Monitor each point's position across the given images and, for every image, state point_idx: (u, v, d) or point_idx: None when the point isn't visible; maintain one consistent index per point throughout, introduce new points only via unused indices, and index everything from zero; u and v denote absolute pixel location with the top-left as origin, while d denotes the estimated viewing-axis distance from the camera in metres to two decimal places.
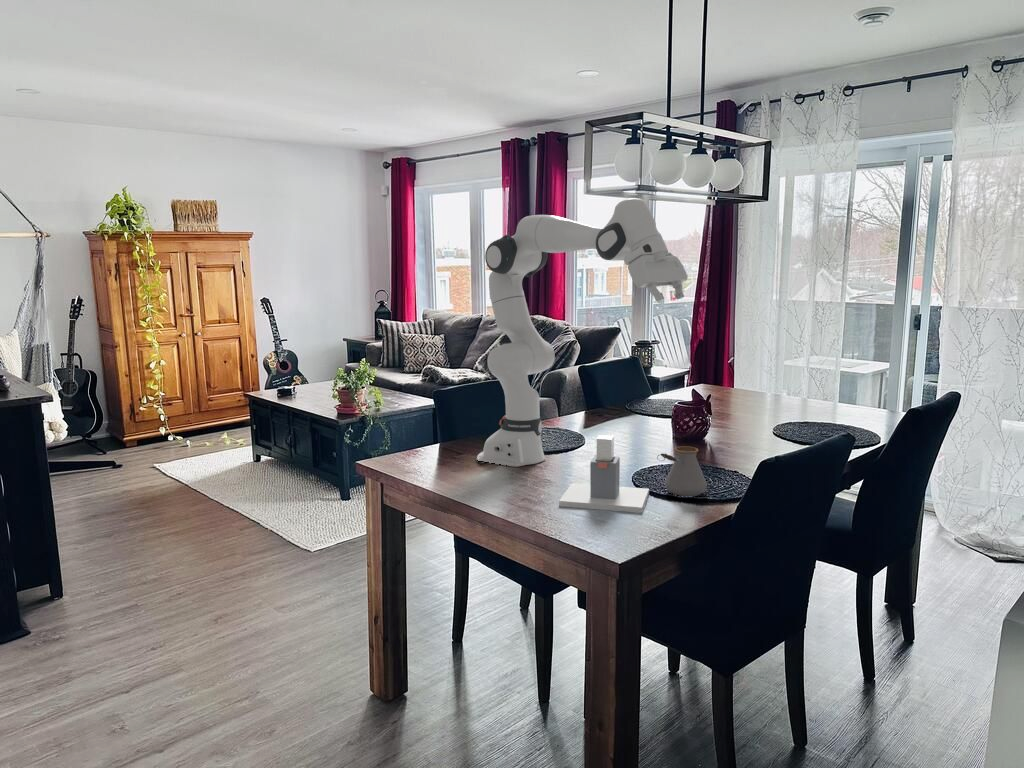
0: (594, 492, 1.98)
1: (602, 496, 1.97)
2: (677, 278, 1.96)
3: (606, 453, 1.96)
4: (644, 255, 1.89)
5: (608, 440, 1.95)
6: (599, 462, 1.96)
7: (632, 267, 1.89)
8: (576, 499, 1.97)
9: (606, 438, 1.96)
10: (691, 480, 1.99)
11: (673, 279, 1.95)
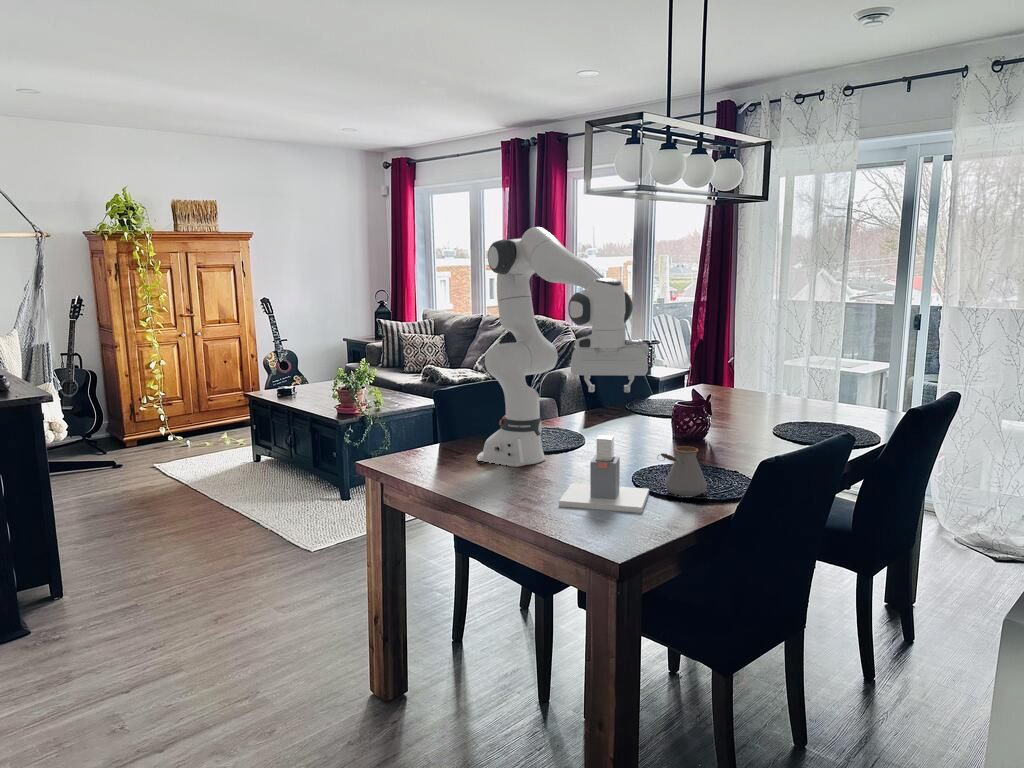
0: (594, 492, 1.98)
1: (602, 496, 1.97)
2: (624, 374, 1.92)
3: (606, 453, 1.96)
4: (579, 349, 1.93)
5: (608, 440, 1.95)
6: (599, 462, 1.96)
7: None
8: (576, 499, 1.97)
9: (606, 438, 1.96)
10: (691, 480, 1.99)
11: (617, 374, 1.92)
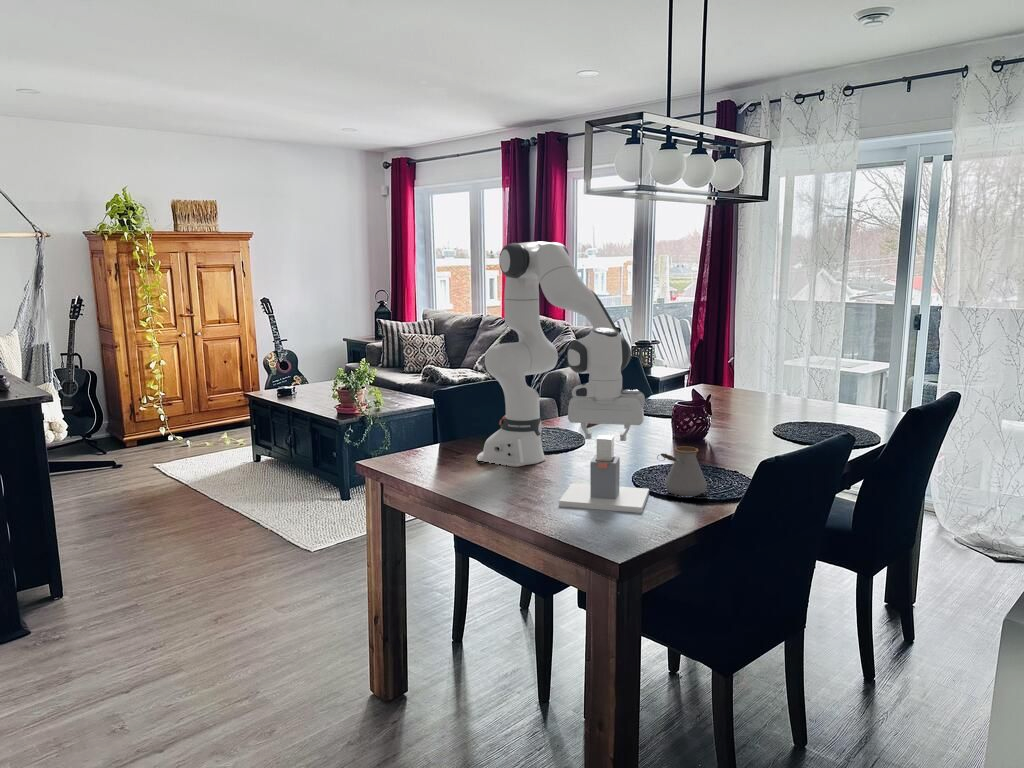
0: (594, 492, 1.98)
1: (602, 496, 1.97)
2: (620, 423, 1.94)
3: (606, 453, 1.96)
4: (576, 397, 1.95)
5: (608, 440, 1.95)
6: (599, 462, 1.96)
7: None
8: (576, 499, 1.97)
9: (606, 438, 1.96)
10: (691, 480, 1.99)
11: (613, 423, 1.94)
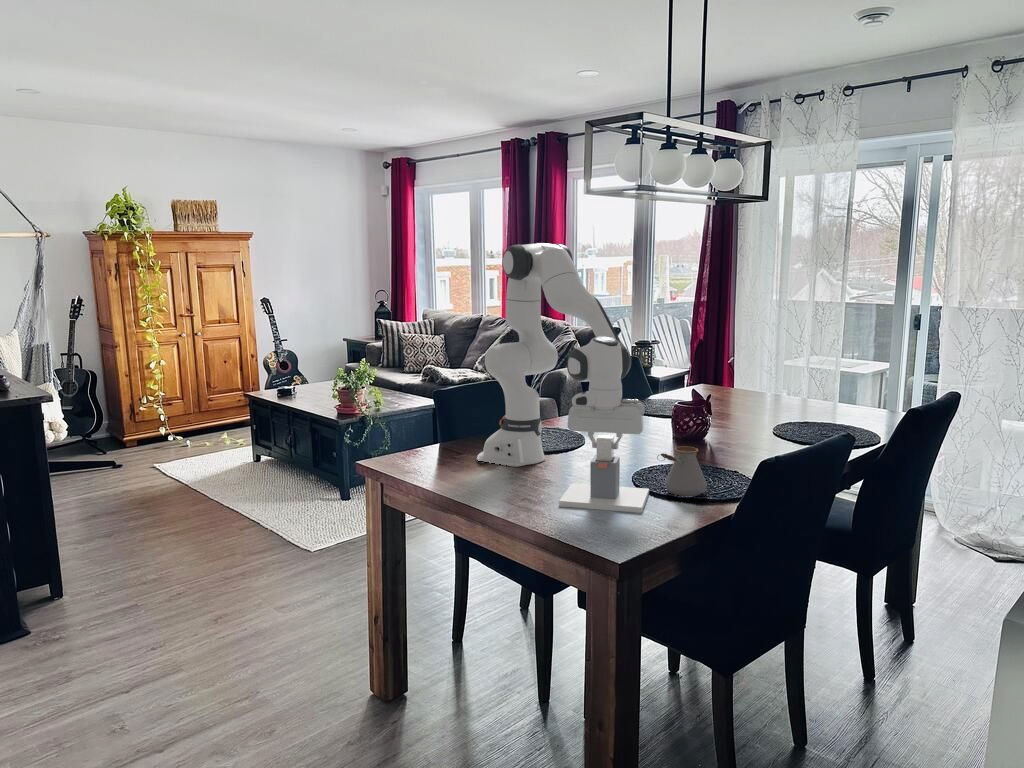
0: (594, 492, 1.98)
1: (602, 496, 1.97)
2: (620, 432, 1.94)
3: (606, 453, 1.96)
4: (576, 406, 1.96)
5: (608, 440, 1.95)
6: (599, 462, 1.96)
7: None
8: (576, 499, 1.97)
9: (606, 438, 1.96)
10: (691, 480, 1.99)
11: (613, 432, 1.95)
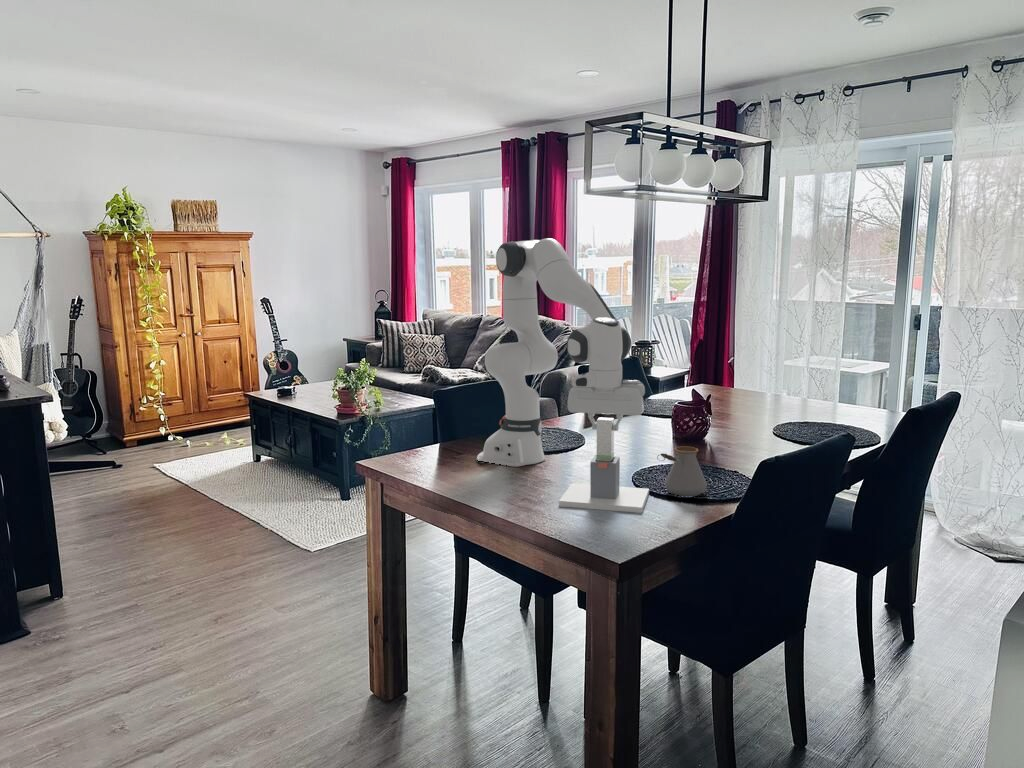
0: (594, 492, 1.98)
1: (602, 496, 1.97)
2: (620, 413, 1.94)
3: (607, 434, 1.95)
4: (576, 387, 1.95)
5: (608, 421, 1.95)
6: (599, 462, 1.96)
7: None
8: (576, 499, 1.97)
9: (606, 420, 1.96)
10: (691, 480, 1.99)
11: (613, 413, 1.94)
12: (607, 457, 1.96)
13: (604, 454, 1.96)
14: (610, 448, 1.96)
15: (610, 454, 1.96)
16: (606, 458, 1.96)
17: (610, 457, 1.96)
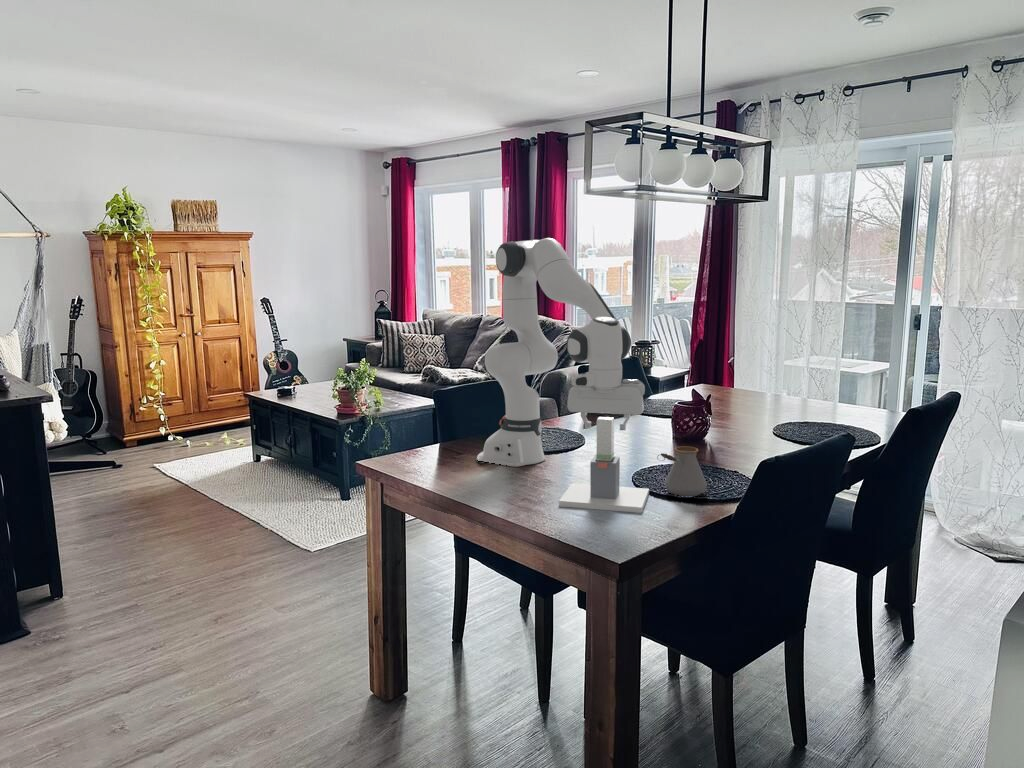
0: (594, 492, 1.98)
1: (602, 496, 1.97)
2: (620, 412, 1.93)
3: (607, 434, 1.95)
4: (576, 387, 1.95)
5: (608, 421, 1.95)
6: (599, 462, 1.96)
7: None
8: (576, 499, 1.97)
9: (606, 419, 1.95)
10: (691, 480, 1.99)
11: (613, 413, 1.94)
12: (607, 457, 1.96)
13: (604, 453, 1.96)
14: (610, 447, 1.96)
15: (610, 453, 1.96)
16: (606, 457, 1.96)
17: (610, 456, 1.96)
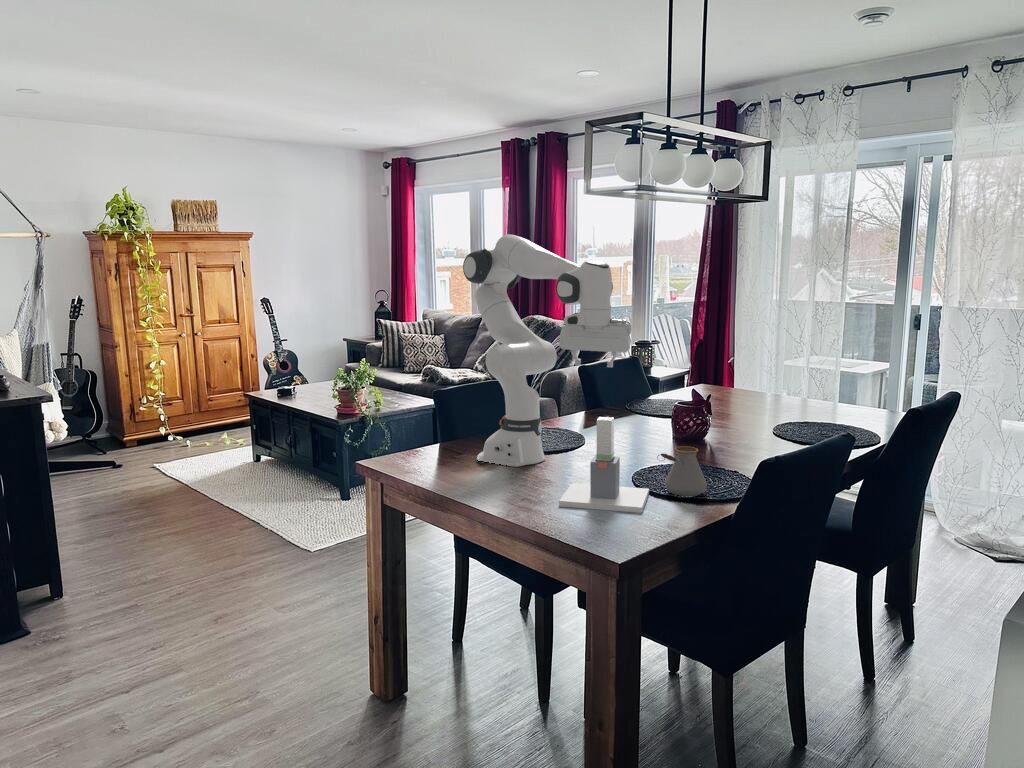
0: (594, 492, 1.98)
1: (602, 496, 1.97)
2: (608, 350, 2.08)
3: (607, 434, 1.95)
4: (568, 325, 2.09)
5: (608, 421, 1.95)
6: (599, 462, 1.96)
7: None
8: (576, 499, 1.97)
9: (606, 419, 1.95)
10: (691, 480, 1.99)
11: (601, 350, 2.09)
12: (607, 457, 1.96)
13: (604, 453, 1.96)
14: (610, 447, 1.96)
15: (610, 453, 1.96)
16: (606, 457, 1.96)
17: (610, 456, 1.96)
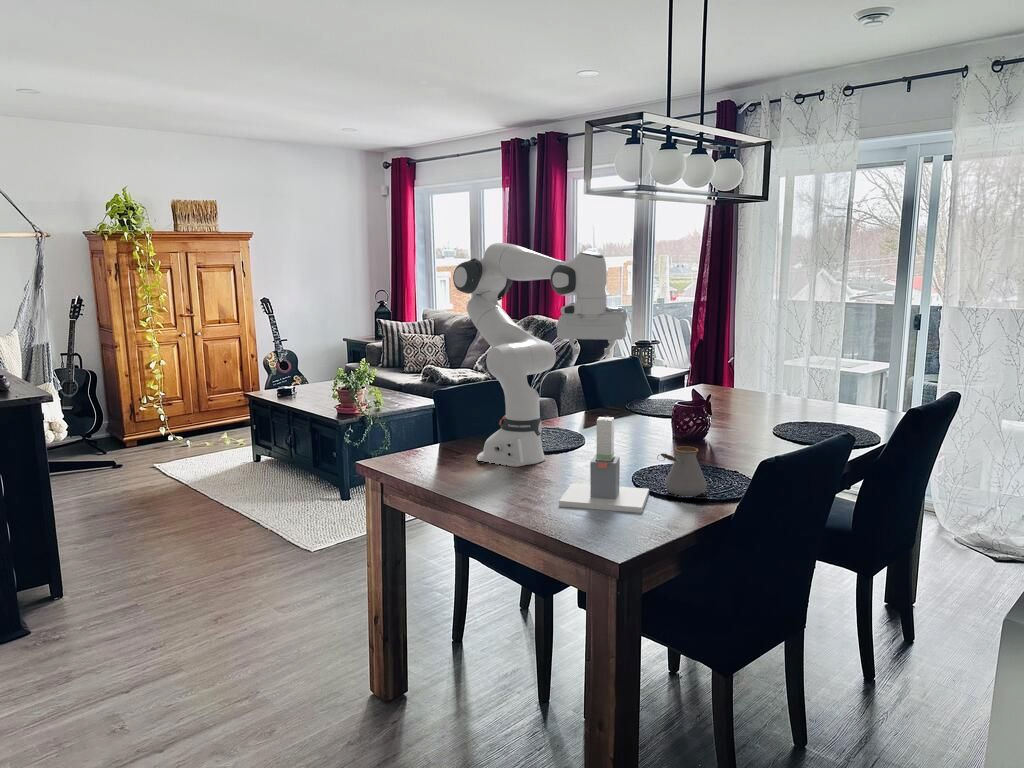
0: (594, 492, 1.98)
1: (602, 496, 1.97)
2: (605, 338, 2.13)
3: (607, 434, 1.95)
4: (565, 315, 2.15)
5: (608, 421, 1.95)
6: (599, 462, 1.96)
7: None
8: (576, 499, 1.97)
9: (606, 419, 1.95)
10: (691, 480, 1.99)
11: (598, 338, 2.14)
12: (607, 457, 1.96)
13: (604, 453, 1.96)
14: (610, 447, 1.96)
15: (610, 453, 1.96)
16: (606, 457, 1.96)
17: (610, 456, 1.96)
